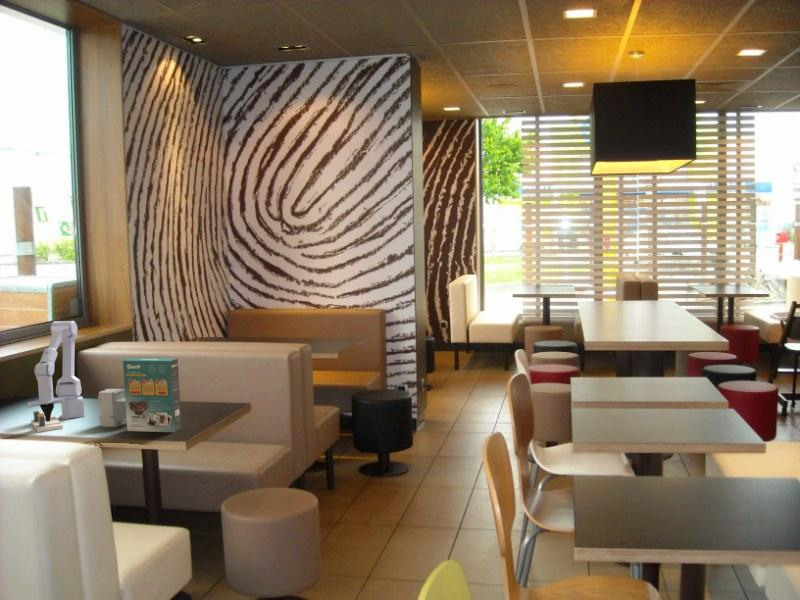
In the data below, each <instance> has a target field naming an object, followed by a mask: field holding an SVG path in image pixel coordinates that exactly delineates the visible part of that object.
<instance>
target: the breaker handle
mask: <svg viewBox="0 0 800 600" xmlns="http://www.w3.org/2000/svg"><path fill="white" fill-rule="evenodd" d="M38 423H39V426H45V415H44V413H43V412H42V413H40V414H38Z"/></svg>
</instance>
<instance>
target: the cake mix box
mask: <svg viewBox="0 0 800 600" xmlns="http://www.w3.org/2000/svg"><path fill="white" fill-rule="evenodd" d="M178 361H179V359H178V358H172V357H171V358H170V357H169V358H166V357H165V358H163V357H161V358H159V357H158V358H157V357H156V358H154V357H152V358H151V357H150V358H149V357H147V358H146V357H141V358H140V357H138V358H137V357H136V358H134V357H133V358H132V357H129V358H128V359H123V360H122V367H123V382H124V384H123V385H124V393H125V401H126V416H127V418H126V427H127V429H126V430H127V432H149V433H150V432H151V433H152V432H156V433H158V432H159V433H161V432H162V433H176V432H178V431H180V430H181V429H182V413H181V412H182V411H181V410H182V409H181V396H180V394H181V392H180V377H179V375H180V374H179V362H178Z"/></svg>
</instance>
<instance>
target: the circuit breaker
mask: <svg viewBox="0 0 800 600" xmlns="http://www.w3.org/2000/svg"><path fill="white" fill-rule="evenodd" d="M97 396H98V397H97V398H98V403H100V412H101V413H100V415H99V424H100V427H103V428H104V427H109V428H114V427H115V428H118V427H120V426H123V425H125V424H127V416H126V401H125V388H105V389H104V390H101V391H99V392H98V395H97Z"/></svg>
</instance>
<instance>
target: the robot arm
mask: <svg viewBox="0 0 800 600" xmlns="http://www.w3.org/2000/svg"><path fill="white" fill-rule="evenodd" d="M50 334H51V337H50V340H49V343H48V347H47V348H45V349H44V350H43V353H42V355H41V358H40V361H39V362H38V363H37V364H36V365H34V369H33V372H34V375H35V378H36V381H37V387H38V390H37V391H38V400H35V401H34V400H33V401H28V402H27V403H28V405H27V406H28V408H33V407H39V408H40V409H41V411H42V413H43V414H44V418H46V422H49V421H50V417H52V412H53V410H54V408H55V404H61V415H59V417H60V418H61V420H68V419H74V418H75V419H76V418H83V417H85V416H86V415H85V404H84V398H83V396H81V394H82V389H83V388H82V385H81V380H80V379H79V378H78V377H77V376H75V351H76V349H75V347H76V345H75V343H76V342H75V340H77V339H78V324H77V323H76V321H75V320H68V321H65V320H64V321H63V320H61V321H60V320H58V321H57V320H56V321H55V320H54V321H52V323H51V325H50ZM61 342H62V376H61V377H60V378H58V380H57V383H56V388H55V394H56V396H57V397H58V398H57V397H55V398H54V386H53V375H54V373H55V362H56V359H57V356H58V354H59V353H58V351H57V350H58V348H59V346H60V344H61Z"/></svg>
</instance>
